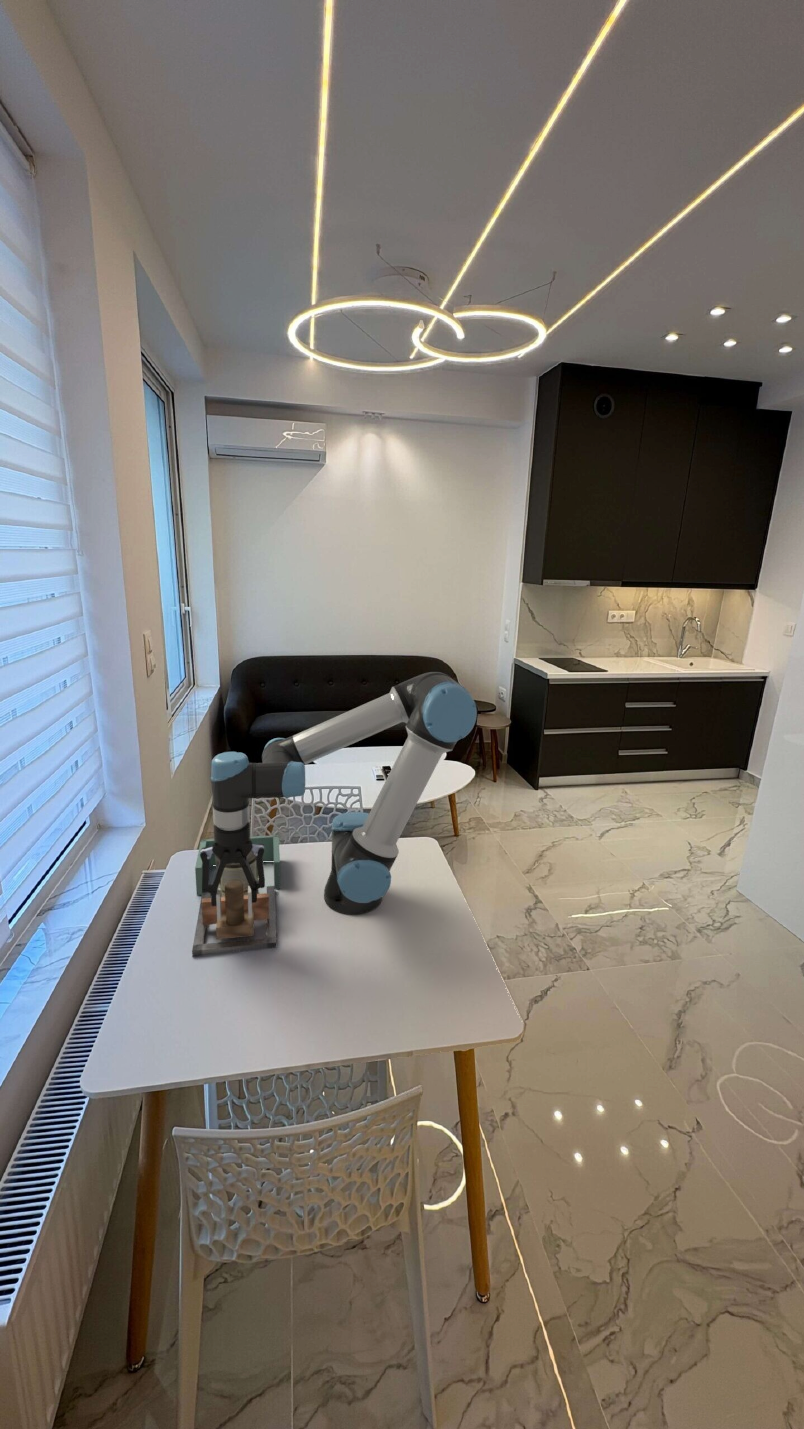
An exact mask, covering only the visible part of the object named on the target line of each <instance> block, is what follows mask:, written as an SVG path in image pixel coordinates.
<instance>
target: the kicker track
mask: <svg viewBox="0 0 804 1429" xmlns="http://www.w3.org/2000/svg"><path fill="white" fill-rule="evenodd" d="M275 890H276V889H275V887H274V885H270V886H269V885H267V886H266V893H269V919H266V937H262V938H252V939H251V938H250V939H249V938H248V939H240V940H231V941H230V940H229V941H219V942H210V943H209V942H208V943H205V938H206V931H207V925H203V919H202V899H204V898H211V894H210V893H208V892H206V893H203V892H202V895H200V896H201V897H200V902H199V908H198V916H197V920H196V927H195V932H194V938H193V943H192V950H191V955H192V956H191V957H192V958H194V957H203V956H211V955H212V956H213V955H221V954H233V953H241V952H250V951H251V952H252V951H261V950H269V949H270V950H271V949H276V948H277V926H276V925H277V924H276V923H277V922H276V894H275V893H276V892H275Z"/></svg>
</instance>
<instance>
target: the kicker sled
mask: <svg viewBox="0 0 804 1429" xmlns="http://www.w3.org/2000/svg"><path fill="white" fill-rule="evenodd" d="M221 910H222V914H221V920H220V921H217V906H212V905H211V898H204V899H202V919H203V925H206V926H207V925H208V926H209V925H216V927H215V930H216V940H224V939H225V940H226V939H234V938H243V937H252V936H253V937H254V936H255V935H254V930H255V929H254V928H255V926H254V925H255V921H261V920H262V921H264V920H267V919H269V893H267V892H266V893H265V892H264V893H259V894H257V902H256V903H252V918H249V914H248V895H244V892H243V883H242V882H239V881H232V882H229V883H227V884H226V885H225V897H221Z"/></svg>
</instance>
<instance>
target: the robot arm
mask: <svg viewBox="0 0 804 1429" xmlns="http://www.w3.org/2000/svg"><path fill="white" fill-rule="evenodd" d="M477 712H478V710H477V706H476V702H475V700H474V698H473V697H472V695H471V693H470V692H469V691H468V690H467V689H466V688H465V687H464V686H463V685H461V684H460V683H459V682H457V681H455V679H454V678H452V677H451V676H450V675H449V674H447V673H444V672H440V671H430V672H425V673H422V674H419V675H417V676H414V677H412V678H410V679H407V680H404V681H403V682H400V683H399V684H396V685H394V686H392V687H391V688H390V691H389V693H386V694H384V695H382V696H380V697H378V698H374V699H373V700H371V701H368V702H366V703H364V704H361V705H359V706H357V707H355V708H352V709H350V710H348V711H345V712H344V713H341V714H338V715H337V716H334V717H332V718H330V719H328V720H325V721H323V722H321V723H319V724H316V725H314V726H312V727H309V728H308V729H305V730H303V731H301V732H298V733H296V734H293V735H291V736H289V737H286V738H284V737H276V738H273V739H271V740H269V741H268V742H267V743H266V744H265V746H264V749H263V751H262V754H261V761H262V762H258V763H257V762H250V761H249V758H248V756H247V755H246V753H243V752H237V751H224V752H222V753H218V754H217V755H215V756H214V757H213V759H211V766H210V768H211V770H210V771H211V772H210V773H211V774H210V776H211V777H210V781H211V782H210V783H211V797H212V798H211V799H212V818H213V819H212V820H213V821H212V822H213V839H214V844H213V847H210V848H207V849H206V848H205V847H203V848H202V849H201V853H200V857H201V860H202V862H203V870H202V892H203V893H206V892H208V893H210V894H211V905H212V906H217V921H220V920H221V914H222V910H221V888H218V886H219V883H220V880H221V877H222V874H223V871H224V868H225V865H226V864H230V863H240V866H241V867H242V869H243V871H244V874H245V876H246V879H247V881H248V883H249V886H248V914H249V918H252V903H256V902H257V890H259V889H264V888H265V887H266V879H265V870H264V868H265V867H264V863H263V854H264V844H259V845H255V844H252V842H251V840H250V837H251V823H250V819H251V818H250V799H266V798H267V799H268V798H270V799H272V798H273V799H274V798H275V799H276V798H285V799H290V798H295V797H302V796H303V795H305V793H306V765H308V764H310V763H312V762H314V761H317V760H319V759H320V758H323V757H325V756H328V755H331V754H333V753H335V752H337V751H338V750H339V751H340V750H341V749H344V748H346V747H349V746H350V745H353V744H355V743H358V742H359V741H362V740H364V739H366V738H369V737H371V736H374V735H376V734H378V733H380V732H383V731H384V730H387V729H390V728H392V727H393V726H395V725H399V724H401V723H405V729H406V732H407V738H406V739H405V742H404V744H403V746H402V748H401V750H400V751H399V753H398V756H397V757H396V760H395V762H394V763H393V765H392V768H391V770H390V772H389V774H388V776H387V778H386V780H385V781H384V784H383V785H382V788H381V790H380V792H379V793H378V795H377V797H376V800H375V802H374V803H373V806H371V807H372V808H371V810H370V812H369V813H368V812H363V811H350V812H344V813H341V814H338V815H336V816H335V817H333V820H332V821H331V822H332V825H331V867H330V868H331V870H330V873H329V876H328V878H327V881H326V883H325V885H324V891H323V892H324V893H323V895H324V896H323V900H324V902H325V904H326V905H327V907H328V908H329V909H332V910H333V911H335V912H338V913H341V914H346V915H360V914H365V913H369V912H371V911H373V910H375V909H376V908H378V907H379V906H380V905H381V902H382V901H383V897H384V896H385V895H386V894H387V893H388V891H389V889H390V887H391V883H392V875H391V869H392V867H393V866H394V863H395V861H396V860H397V857H398V856H399V853H400V852H399V847H398V845H397V843H398V841H399V840H400V837H401V835H402V833H403V831H404V829H405V827H406V825H407V823H408V821H409V819H410V817H411V816H412V814H413V812H414V810H415V808H416V806H417V804H418V802H419V801H420V798H421V796H422V794H423V793H424V790H425V788H426V786H427V785H428V784H429V783H428V782H429V781H430V778H431V777H432V775H433V773H434V771H435V769H436V767H437V766H438V763H439V762H440V759H441V758H442V756H443V754H445V753H448V752H452V751H453V749H454V748H455V745H456V744H457V742H458V741H459V740H461V739H464V738H466V736H468V735H469V734H470V733H471V732H472V730H473V729H474V726H475V724H476V721H477V717H478V716H477V714H478V713H477ZM251 850H253V851H254V855H256V856H257V869H258V881H256V880H255V877H254V875H253V872H252V870H251V867H250V865H249V862H248V860H247V855H248V854H249V853H250V851H251ZM212 853H214V854H215V855H216V856H217V857H218V858H219V859H220V861H219V865H218V868H217V871H216V870H215V873H214V874H215V875H214V877H213V881H212V883H211V884H210V883H209V882H210V880H209V879H210V867H209V859H210V858H211V855H212Z"/></svg>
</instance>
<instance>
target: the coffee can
mask: <svg viewBox="0 0 804 1429" xmlns="http://www.w3.org/2000/svg"><path fill="white" fill-rule="evenodd" d="M215 860H216V866H215V872H216V871H217V868H218V865H219V861H220V859H219V858H218V857H217V856H216V855H215ZM247 860H248V862H249V865H250V867H251V870H252V872H253V875H254V877H255V880H256V881H258V880H259V878H258V869H257V856H256V855H254V851H253V850H251V851H250V853H249V854H248V855H247ZM232 881H239V882H242V883H243V892H244V895H248V886H249V883H248V881H247V879H246V876H245V874H244V871H243V869H242V867H241V866H240V863H230V864H226V865H225V868H224V871H223V874H222V877H221V880H220V883H219V886H218V888H221V897H225V885H226V884H227V883H229V882H232ZM257 894H260V893H259V889H258V890H257Z"/></svg>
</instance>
